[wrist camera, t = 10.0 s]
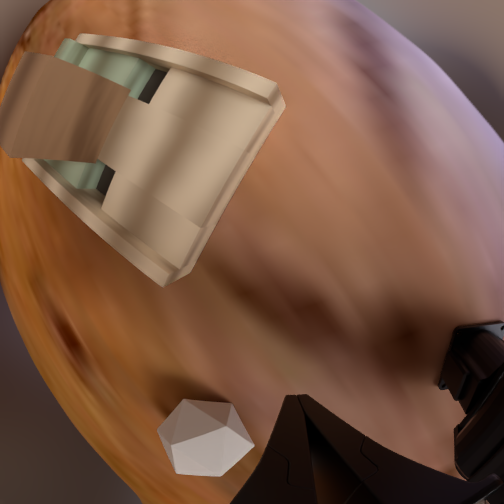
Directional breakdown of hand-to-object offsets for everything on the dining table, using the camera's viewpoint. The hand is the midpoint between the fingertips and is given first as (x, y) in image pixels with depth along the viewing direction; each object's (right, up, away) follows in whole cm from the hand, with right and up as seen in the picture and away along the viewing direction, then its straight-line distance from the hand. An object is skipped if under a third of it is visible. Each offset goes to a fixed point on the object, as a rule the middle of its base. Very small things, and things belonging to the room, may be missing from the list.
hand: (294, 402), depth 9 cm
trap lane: (-12, +16, +13) cm, 24 cm away
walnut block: (-16, +18, +10) cm, 26 cm away
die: (-5, -12, +16) cm, 21 cm away
